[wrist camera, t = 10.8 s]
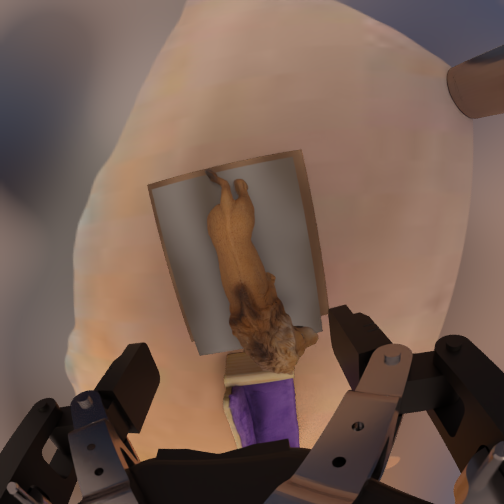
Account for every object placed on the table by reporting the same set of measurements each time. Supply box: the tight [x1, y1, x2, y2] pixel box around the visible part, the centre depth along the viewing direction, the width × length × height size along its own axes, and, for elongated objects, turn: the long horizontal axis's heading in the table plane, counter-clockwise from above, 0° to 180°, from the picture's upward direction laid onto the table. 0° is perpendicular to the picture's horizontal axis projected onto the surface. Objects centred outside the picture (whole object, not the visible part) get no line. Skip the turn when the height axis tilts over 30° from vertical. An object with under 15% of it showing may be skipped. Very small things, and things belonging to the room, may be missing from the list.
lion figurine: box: [205, 169, 318, 375], centre depth 19 cm, size 15×5×9 cm, turn 25°
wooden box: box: [147, 149, 329, 356], centre depth 29 cm, size 16×18×10 cm
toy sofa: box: [223, 352, 300, 449], centre depth 34 cm, size 21×9×10 cm, turn 8°
